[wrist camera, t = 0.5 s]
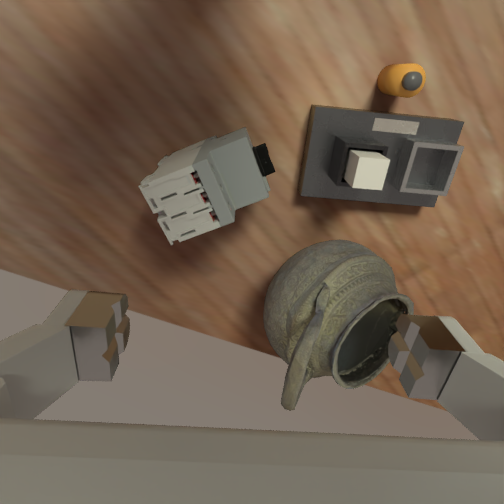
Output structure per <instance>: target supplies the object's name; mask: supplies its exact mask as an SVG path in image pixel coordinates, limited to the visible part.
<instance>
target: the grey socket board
mask: <svg viewBox="0 0 504 504" xmlns="http://www.w3.org/2000/svg"><path fill="white" fill-rule="evenodd" d="M463 124H464V122H463V121H458V120H454V119H447V118H437V117H427V116H418V115H408V114H398V113H389V112H379V111H369V110H360V109H350V108H340V107H331V106H321V105H312V106H311V112H310V118H309V125H308V131H307V137H306V143H305V149H304V156H303V162H302V168H301V174H300V180H299V186H298V191H299V193H300V195H301V196H308V197H320V198H332V199H343V200H355V201H367V202H378V203H390V204H401V205H413V206H425V207H434V206H435V203H436V200H437V197H438V195H442V196H446V195H447V193H448V190H449V187H450V185H451V182H452V179H453V176H454V174H455V171H456V168H457V165H458V163H459V160H460V157H461V154H462V152H463V149H464V146H461V145H458V144H457V141H458V138H459V135H460V133H461V130H462V127H463ZM348 148H350V149H360V150H371V151H376V152H378V153H380V154H381V155H383V156H385V157H386V158H388V159H390V163H389V167H388V170H387V174H386V178H385V181H384V185H383V188H382V190H372V189H361V188H352V187H351V186H350V185H349V184H348V183H347V181H346V180H345V179H344V178H343V177H342V175H343V171H344V166H345V161H346V157H347V152H348Z"/></svg>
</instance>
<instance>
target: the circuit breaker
mask: <svg viewBox="0 0 504 504" xmlns="http://www.w3.org/2000/svg"><path fill="white" fill-rule="evenodd" d="M158 166H159V167H158V168H157V170H156V171H155V172H154V173H153V174H151V175H149V176H146V177H145V178H144V179H143V180H142V181H141V185H139V188H140V190H141V192H142V194H143V195H144V197H145V199H146V201H147V203H148V205H149V206H150V208H151V210H152V212H153V214H154V213H158V215H159V216H158V220H157V221H158V223H159V224H160V226H161V228H162V230H163V232H164V233H165V235H166V237H167V239H168V241H169V242H170V244H171V245H173V241H175V240H179V242H181V241H184V240H187V239H189V238H192V237H195V236H197V235H200V234H203V233H206V232H208V231H211V230H214V229H216V228H219V227H222V226H224V225H227V224H230V223H233V222H234V221H235V210H236V209H239V208H242V207H244V206H247V205H249V204H252V203H255V202H257V201H260V200H263V199H265V198H268V197H269V194H268V191H270V187H269V185H268V182H267V179H266V175H269V174H271V173H274V172H275V169H274V166H273V164H272V162H271V160H270V157H269V154H268V150H267V147H266V144H265V143H264V144H261V145H259V146H257V147H253V146H252V143H251V140H250V138H249V135H248V132H247V130H246V127H244V128H241V129H239V130H236V131H234V132H232V133H229V134H227V135H224V136H222V137H219V138H217V136H216V135H215V136H212V137H210V138H208V139H205V140H203V141H200V142H198V143H195V144H193V145H191V146H188V147H186V148H183V149H181V150H178V151H176V152H174V153H172V154H171V155H170V156H168V157H167V155H166V156H164V158H163V159H161V160H160V162H159V163H158ZM150 199H151V200H150ZM151 201H152V202H151ZM152 203H153V204H152ZM163 223H164V224H163Z"/></svg>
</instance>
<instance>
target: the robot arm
mask: <svg viewBox="0 0 504 504" xmlns="http://www.w3.org/2000/svg"><path fill="white" fill-rule="evenodd" d="M127 308H128V297H127V295H126V294H120V293H109V292H98V291H87V290H70V291H68V293H67V294H66V295H65V296H64V298H63V299H62V300H61V301H60V303H59V304H58V305H57V306H56V307H55V309H54V310H53V311H52V313H51V314H50V315H49V316H48V318H47V319H46V320H45V321H44V323H43V324H42V325H38V324H36V325H33V326H31V327H29V328H27V329H25V330H23V331H21V332H19V333H16V334H14V335H12V336H10V337H8V338H6V339H4V340H2V341H0V504H504V361H502V360H500V359H498V358H497V357H495V356H493V355H491V354H487V353H484V352H483V351H482V350H481V348H480V347H479V346H478V345H477V344H476V343H475V341H474V340H473V339H472V338H471V337H470V336H469V335H468V333H467V332H466V331H465V330H464V329H463V328H462V326H461V325H460V324H459V323H458V322H457V321H456V320H455V319H454V318H452V317H450V316H422V315H406V314H401V315H400V316H399V318H398V319H397V322H396V327H397V329H398V331H397V332H396V333H395V334H394V335H392V336H391V339H390V342H389V345H388V355H389V359H390V362H391V364H392V366H393V368H395V369H396V370H397V371H398V372H400V373H401V375H400V378H399V380H400V382H401V384H402V386H403V388H404V390H405V391H406V393H407V395H408V397H409V398H419V399H431V400H438V401H437V402H439V403H440V404H441V405H442V406H443V407H444V408H445V409H446V410H447V411H448V412H450V413H451V414H452V415H453V416H454V417H455V418H456V419H457V420H458V421H460V422H461V423H462V424H463V425H464V426H465V427H466V428H468V430H469V431H471V432H472V433H473V434H474V435H475V436H476V437H477V438H478V439H479V440H465V439H442V438H421V437H401V436H400V437H399V436H380V435H359V434H340V433H318V432H294V431H274V430H273V431H272V430H252V429H231V428H209V427H187V426H165V425H144V424H123V423H101V422H79V421H58V420H57V421H56V420H37V419H34V418H35V417H36V416H37V415H39V414H40V413H41V412H42V411H43V410H45V409H46V408H47V407H48V406H50V405H51V404H52V403H53V402H55V401H56V400H57V399H58V398H59V397H61V396H62V395H63V394H64V393H66V392H67V391H68V390H69V389H71V388H72V387H73V386H74V385H75V384H77V383H78V380H82V381H111V380H112V378H113V376H114V373H115V371H116V369H117V367H118V364H119V354H120V353H122V352H124V350H125V348H126V345H127V342H128V337H129V330H130V322H129V318H128V317H127V316H126V315H125V313H126V310H127Z"/></svg>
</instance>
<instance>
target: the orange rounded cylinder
mask: <svg viewBox="0 0 504 504" xmlns="http://www.w3.org/2000/svg"><path fill="white" fill-rule="evenodd" d="M425 79H426V75H425V71H424V69H423V68H422V67H421V66H420V65H418V64H392V65H388V66H386V67H385V68H384V69H383V70H382V71H381V72H380V74H379V76H378V80H377V85H378V88H379V90H380V91H381V92H382V93H384V94H387V95H393V96H399V97H405V98H409V97H413V96H415V95H416V94H418V93H419V92H420V91H421V89H422V88H423V86H424V83H425Z"/></svg>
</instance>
